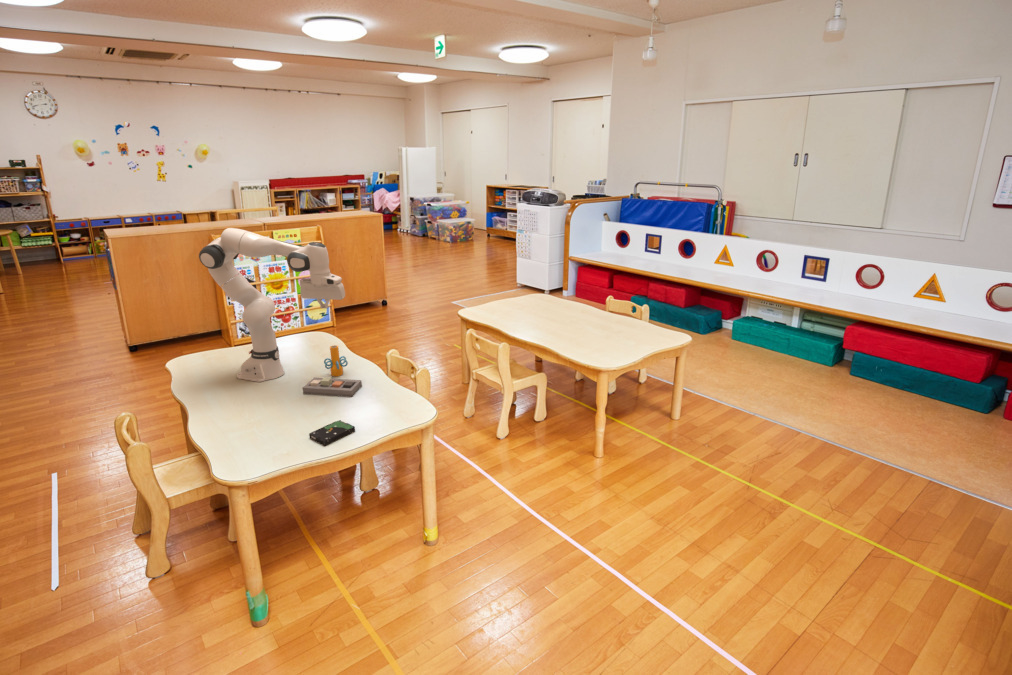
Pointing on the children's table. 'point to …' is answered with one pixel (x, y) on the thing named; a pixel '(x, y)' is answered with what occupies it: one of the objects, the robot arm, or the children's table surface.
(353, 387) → the keyboard
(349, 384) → the key charcoal
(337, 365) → the orange and blue toy
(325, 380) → the key sage
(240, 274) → the robot arm
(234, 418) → the children's table surface
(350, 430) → the disk drive
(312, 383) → the key white
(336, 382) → the key terracotta
